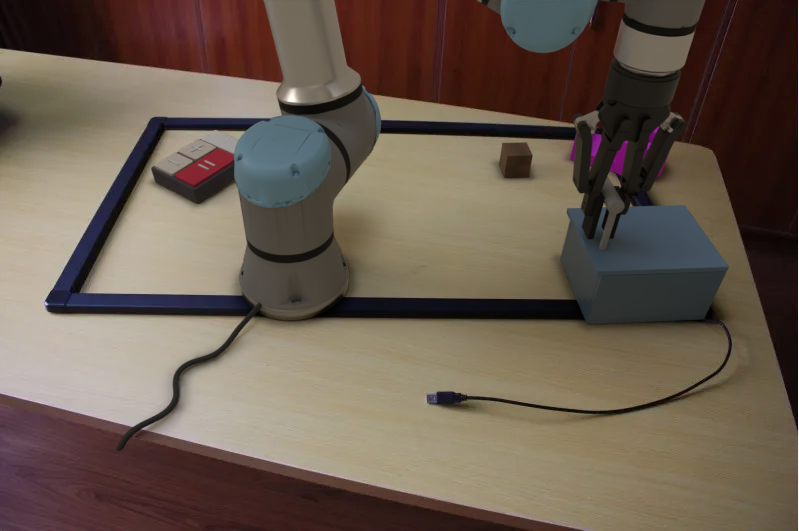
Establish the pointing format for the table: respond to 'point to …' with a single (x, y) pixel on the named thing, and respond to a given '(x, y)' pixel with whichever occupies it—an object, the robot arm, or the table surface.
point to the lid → (646, 240)
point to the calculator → (198, 167)
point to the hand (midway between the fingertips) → (597, 232)
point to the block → (515, 159)
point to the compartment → (636, 291)
